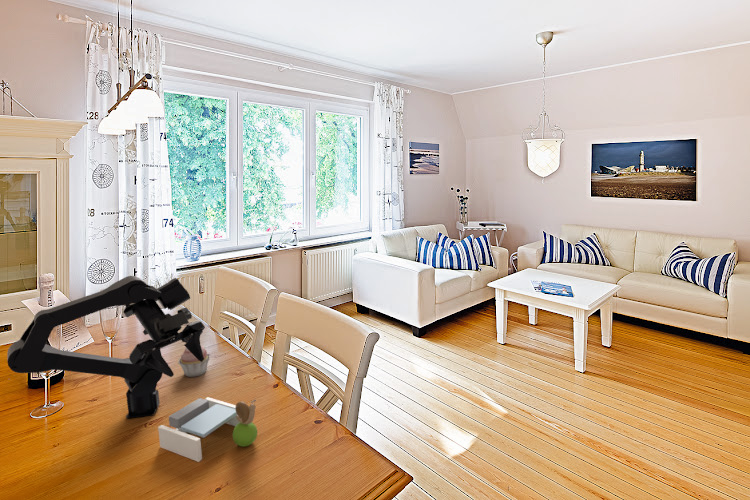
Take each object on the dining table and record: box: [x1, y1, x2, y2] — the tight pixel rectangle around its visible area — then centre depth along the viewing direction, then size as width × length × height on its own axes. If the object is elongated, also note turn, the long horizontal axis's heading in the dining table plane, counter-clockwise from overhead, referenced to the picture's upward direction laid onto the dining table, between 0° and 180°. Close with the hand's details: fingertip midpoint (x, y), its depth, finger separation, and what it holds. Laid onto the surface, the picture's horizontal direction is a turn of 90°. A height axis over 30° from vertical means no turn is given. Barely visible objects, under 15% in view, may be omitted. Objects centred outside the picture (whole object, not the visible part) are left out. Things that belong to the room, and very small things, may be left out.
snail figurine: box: [232, 399, 258, 448], centre depth 98 cm, size 5×6×12 cm
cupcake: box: [178, 345, 211, 378], centre depth 134 cm, size 9×9×10 cm
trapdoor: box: [168, 397, 237, 438], centre depth 101 cm, size 11×12×2 cm
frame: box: [157, 396, 240, 463], centre depth 102 cm, size 14×12×5 cm
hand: (188, 368), depth 107 cm, fingers open, 9 cm apart
